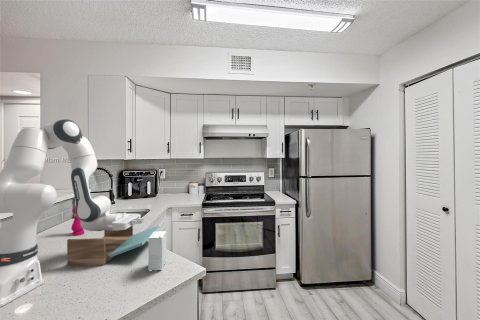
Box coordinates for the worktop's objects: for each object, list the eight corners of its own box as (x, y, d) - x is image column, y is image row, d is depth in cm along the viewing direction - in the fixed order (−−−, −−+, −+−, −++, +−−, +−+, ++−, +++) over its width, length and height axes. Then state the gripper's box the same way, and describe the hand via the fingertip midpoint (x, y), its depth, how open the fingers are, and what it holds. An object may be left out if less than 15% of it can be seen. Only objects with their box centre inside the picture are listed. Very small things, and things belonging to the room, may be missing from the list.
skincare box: (153, 263, 103) (153, 231, 103) (166, 262, 104) (166, 230, 104) (147, 272, 95) (147, 237, 95) (162, 271, 96) (162, 236, 96)
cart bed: (104, 265, 102) (104, 238, 102) (67, 266, 101) (67, 240, 101) (133, 239, 134) (132, 219, 134) (105, 240, 133) (105, 220, 133)
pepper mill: (69, 234, 144) (68, 203, 144) (81, 231, 150) (81, 201, 150) (75, 236, 140) (74, 204, 140) (87, 233, 147) (87, 202, 147)
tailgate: (109, 259, 104) (143, 246, 105) (108, 255, 104) (141, 242, 105) (134, 238, 132) (160, 228, 133) (133, 234, 132) (159, 225, 133)
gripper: (105, 220, 107) (134, 219, 108) (124, 211, 127) (149, 211, 128) (105, 234, 107) (134, 233, 107) (124, 223, 127) (149, 222, 128)
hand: (143, 221), depth 118 cm, fingers closed
